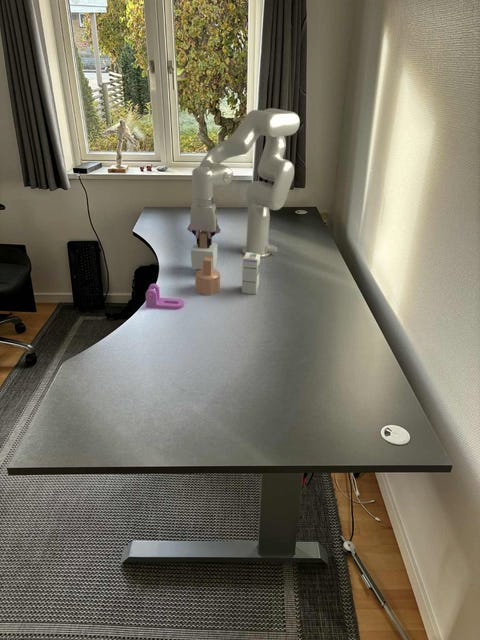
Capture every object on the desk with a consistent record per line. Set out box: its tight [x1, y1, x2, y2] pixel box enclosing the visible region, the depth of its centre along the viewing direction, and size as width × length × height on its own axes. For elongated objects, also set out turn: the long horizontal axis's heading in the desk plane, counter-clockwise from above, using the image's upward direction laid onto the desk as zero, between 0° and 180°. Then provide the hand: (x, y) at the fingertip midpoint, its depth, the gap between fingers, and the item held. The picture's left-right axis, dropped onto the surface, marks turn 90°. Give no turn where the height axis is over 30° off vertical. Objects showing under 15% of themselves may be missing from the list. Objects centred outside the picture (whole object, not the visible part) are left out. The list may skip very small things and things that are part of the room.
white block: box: [190, 231, 218, 270], centre depth 194 cm, size 9×9×14 cm
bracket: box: [145, 283, 185, 310], centre depth 173 cm, size 13×6×7 cm, turn 86°
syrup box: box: [241, 252, 261, 295], centre depth 184 cm, size 6×6×14 cm
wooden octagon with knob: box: [194, 257, 221, 296], centre depth 183 cm, size 9×9×13 cm
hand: (204, 246), depth 194 cm, fingers closed on white block, 3 cm apart
